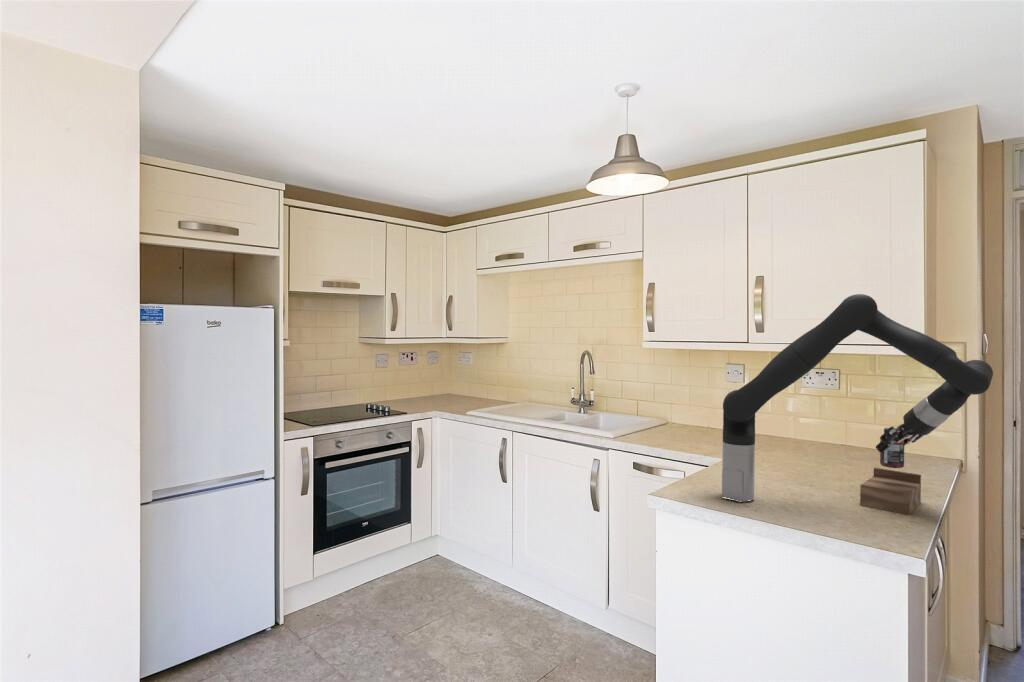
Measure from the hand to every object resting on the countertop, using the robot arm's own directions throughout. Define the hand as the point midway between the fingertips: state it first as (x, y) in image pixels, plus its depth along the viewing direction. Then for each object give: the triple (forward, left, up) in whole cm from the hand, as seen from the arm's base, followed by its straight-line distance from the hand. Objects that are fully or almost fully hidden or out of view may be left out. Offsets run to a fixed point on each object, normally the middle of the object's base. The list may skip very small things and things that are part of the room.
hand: (886, 448), depth 167 cm
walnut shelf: (-1, -1, -16) cm, 16 cm away
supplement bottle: (-1, -2, -5) cm, 5 cm away
